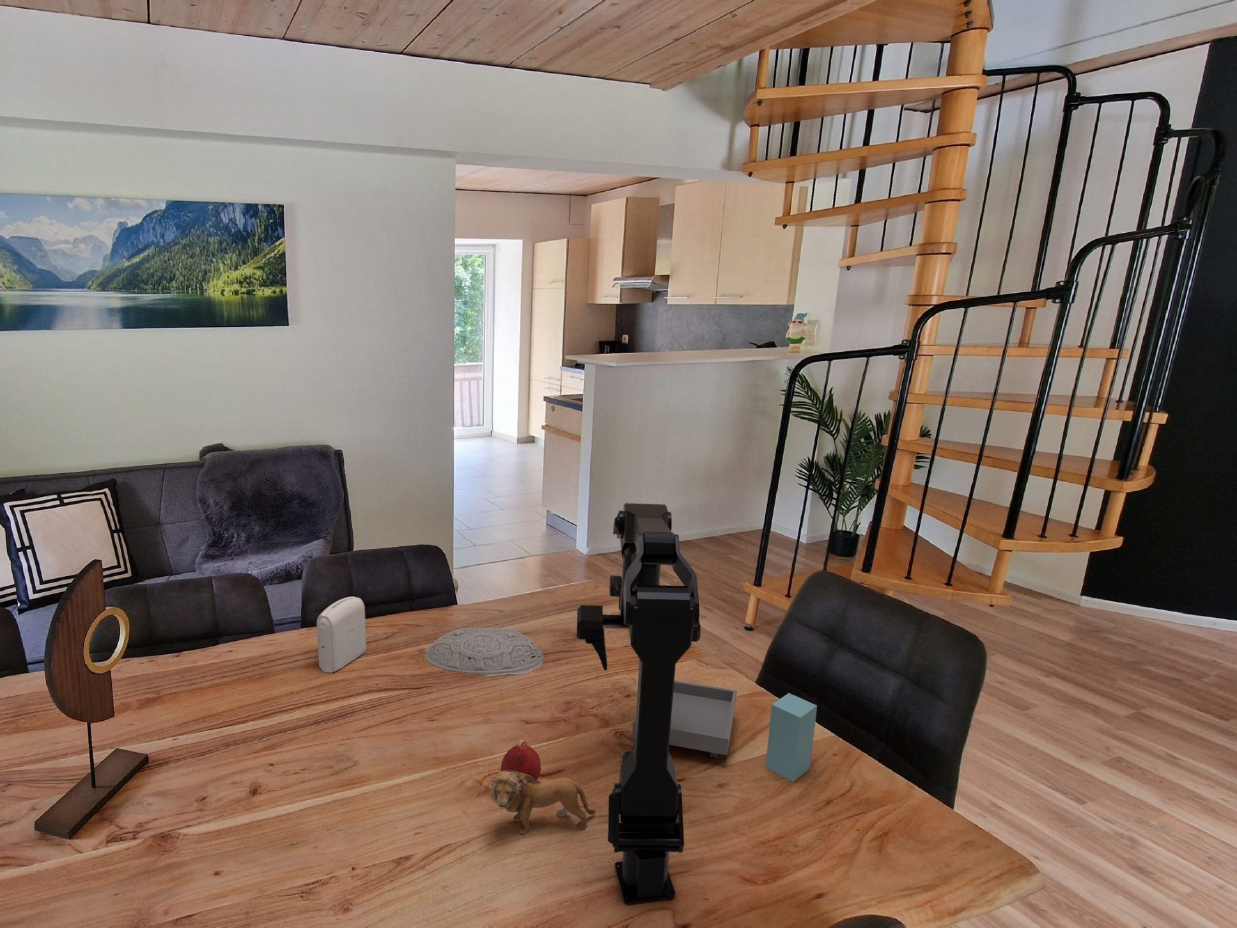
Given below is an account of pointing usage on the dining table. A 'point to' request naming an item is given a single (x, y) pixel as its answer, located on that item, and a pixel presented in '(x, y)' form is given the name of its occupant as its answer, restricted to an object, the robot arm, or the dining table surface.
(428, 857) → the dining table surface
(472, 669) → the grey carved oval dome
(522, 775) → the lion figurine
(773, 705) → the light blue block
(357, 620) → the photo printer
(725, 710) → the grey footed tray
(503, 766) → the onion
